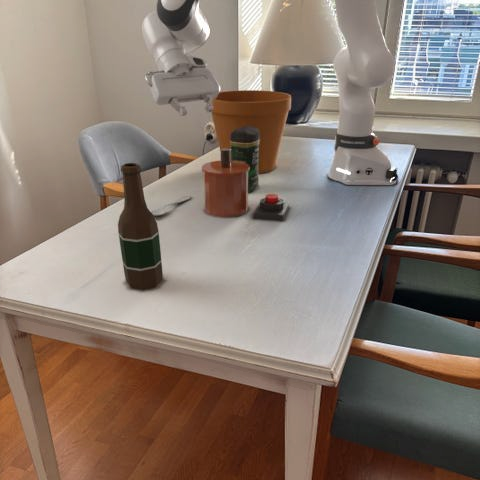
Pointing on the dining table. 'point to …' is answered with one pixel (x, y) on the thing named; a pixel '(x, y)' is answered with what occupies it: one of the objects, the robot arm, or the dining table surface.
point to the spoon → (161, 209)
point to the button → (272, 198)
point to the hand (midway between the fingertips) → (197, 112)
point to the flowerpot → (253, 120)
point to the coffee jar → (247, 151)
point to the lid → (225, 165)
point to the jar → (226, 194)
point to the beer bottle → (138, 234)
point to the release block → (271, 210)
